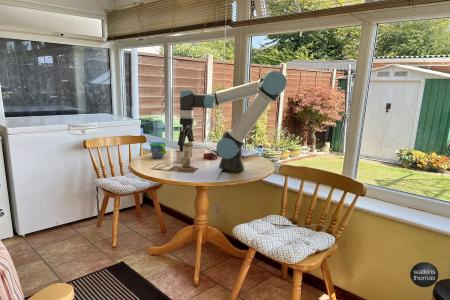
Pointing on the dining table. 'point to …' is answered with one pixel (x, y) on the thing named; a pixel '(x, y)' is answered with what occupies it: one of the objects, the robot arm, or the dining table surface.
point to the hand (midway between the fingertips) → (185, 154)
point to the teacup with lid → (180, 159)
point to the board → (175, 168)
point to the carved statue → (187, 155)
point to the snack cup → (158, 149)
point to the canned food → (210, 155)
